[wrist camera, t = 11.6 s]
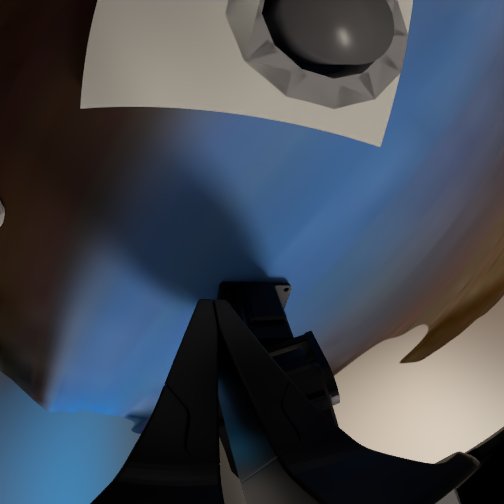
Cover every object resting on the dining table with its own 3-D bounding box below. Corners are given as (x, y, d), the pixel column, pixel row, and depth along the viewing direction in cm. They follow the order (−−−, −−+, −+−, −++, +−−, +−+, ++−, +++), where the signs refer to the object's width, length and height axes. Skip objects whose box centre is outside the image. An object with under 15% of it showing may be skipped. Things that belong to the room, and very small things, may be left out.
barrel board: (358, 136, 18) (380, 147, 16) (97, 103, 13) (80, 108, 11) (390, -16, 10) (415, -22, 8) (141, -72, 6) (135, -91, 3)
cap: (340, 76, 15) (383, 80, 11) (255, 51, 14) (278, 42, 10) (356, 7, 12) (400, -3, 8) (274, -23, 10) (301, -49, 6)
